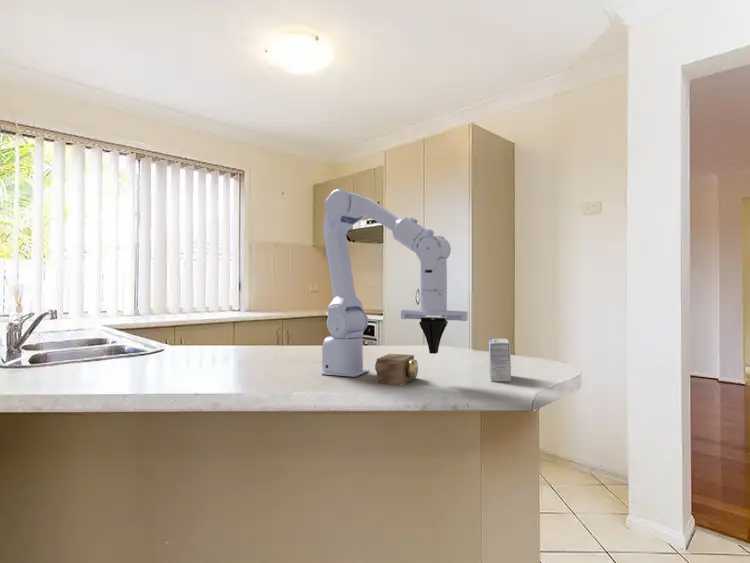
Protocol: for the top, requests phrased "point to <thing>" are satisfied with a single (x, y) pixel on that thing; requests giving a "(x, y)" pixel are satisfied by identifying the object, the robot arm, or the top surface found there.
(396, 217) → the robot arm
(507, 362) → the medicine box
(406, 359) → the block
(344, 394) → the top surface
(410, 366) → the brass door knob
